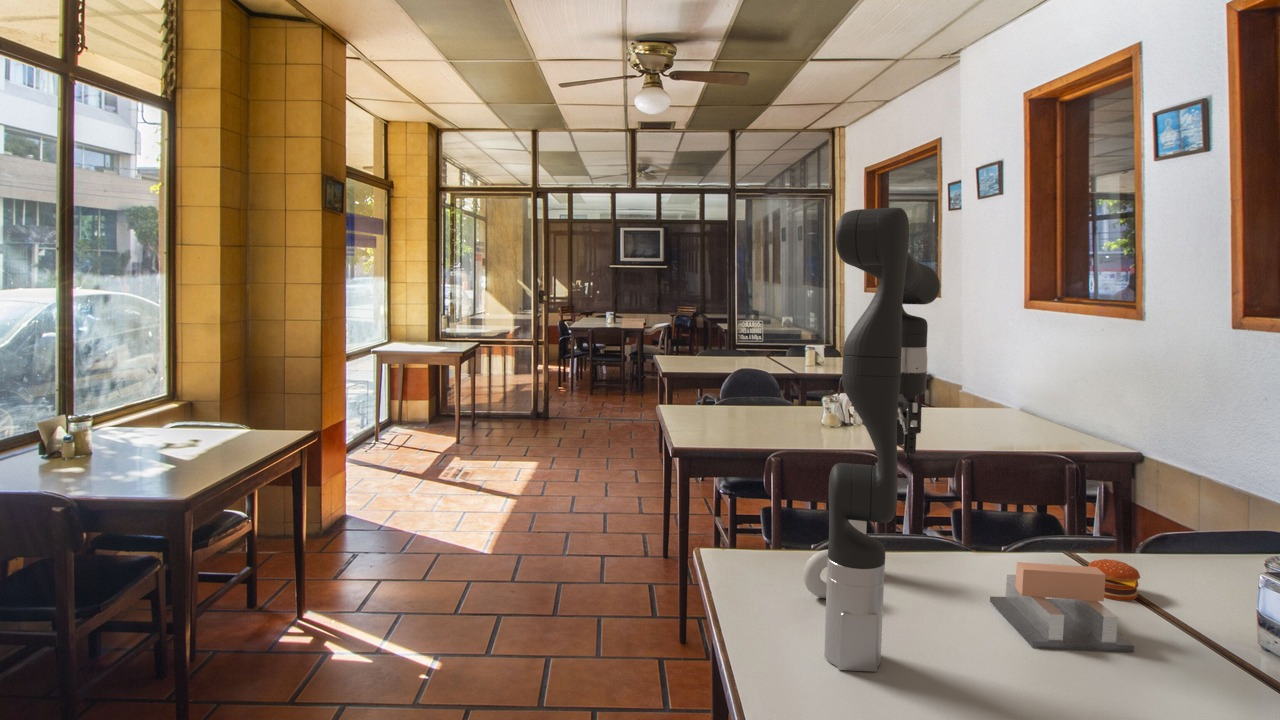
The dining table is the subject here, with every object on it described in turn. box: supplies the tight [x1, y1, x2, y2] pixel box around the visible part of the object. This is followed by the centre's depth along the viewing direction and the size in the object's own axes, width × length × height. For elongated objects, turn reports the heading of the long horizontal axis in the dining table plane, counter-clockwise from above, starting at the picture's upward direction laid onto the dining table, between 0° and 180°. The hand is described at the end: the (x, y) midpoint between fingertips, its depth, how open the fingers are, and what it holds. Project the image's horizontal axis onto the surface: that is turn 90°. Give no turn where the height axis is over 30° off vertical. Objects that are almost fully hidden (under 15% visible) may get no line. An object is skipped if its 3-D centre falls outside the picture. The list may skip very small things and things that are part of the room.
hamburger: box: [1087, 558, 1141, 602], centre depth 163 cm, size 9×10×7 cm
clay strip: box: [1015, 561, 1106, 602], centre depth 146 cm, size 4×14×5 cm, turn 80°
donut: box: [802, 549, 828, 599], centre depth 158 cm, size 10×4×10 cm, turn 101°
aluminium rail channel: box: [989, 574, 1135, 653], centre depth 146 cm, size 20×17×6 cm
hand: (903, 448), depth 158 cm, fingers open, 8 cm apart
